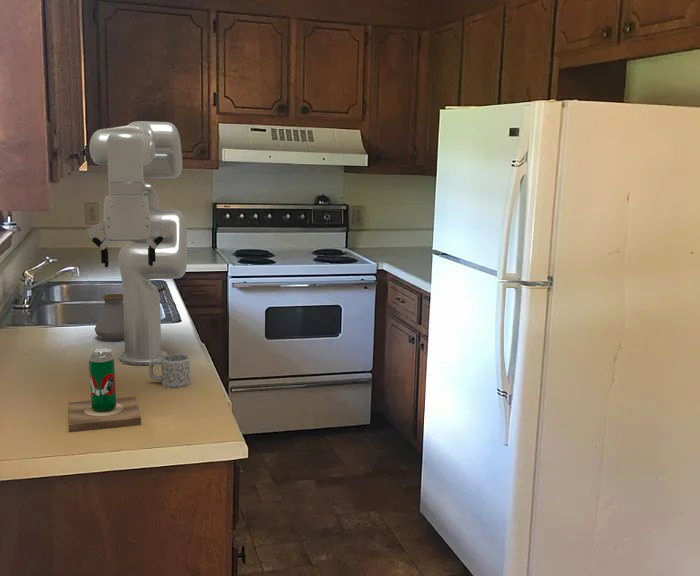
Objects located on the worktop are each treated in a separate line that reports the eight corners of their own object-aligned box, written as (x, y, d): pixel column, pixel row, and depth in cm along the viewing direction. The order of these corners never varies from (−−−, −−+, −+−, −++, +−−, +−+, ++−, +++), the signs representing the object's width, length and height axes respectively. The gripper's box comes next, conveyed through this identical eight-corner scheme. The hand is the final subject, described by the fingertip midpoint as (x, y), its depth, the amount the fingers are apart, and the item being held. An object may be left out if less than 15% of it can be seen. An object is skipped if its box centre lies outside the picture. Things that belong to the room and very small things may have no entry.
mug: (193, 380, 185) (192, 354, 183) (185, 388, 178) (185, 362, 177) (153, 378, 185) (153, 352, 184) (144, 387, 179) (143, 360, 177)
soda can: (119, 404, 161) (116, 351, 159) (112, 412, 156) (109, 357, 154) (95, 404, 161) (92, 351, 158) (88, 412, 156) (85, 357, 154)
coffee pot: (94, 343, 215) (92, 293, 213) (95, 334, 226) (93, 285, 223) (169, 340, 222) (168, 290, 219) (167, 330, 232) (166, 283, 230)
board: (69, 408, 163) (68, 401, 162) (135, 402, 167) (135, 395, 167) (69, 432, 150) (69, 424, 149) (141, 424, 155) (140, 416, 154)
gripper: (164, 189, 171) (165, 262, 175) (84, 188, 165) (88, 264, 169) (168, 191, 165) (169, 267, 168) (85, 191, 158) (88, 269, 162)
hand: (128, 265), depth 168 cm, fingers open, 9 cm apart
